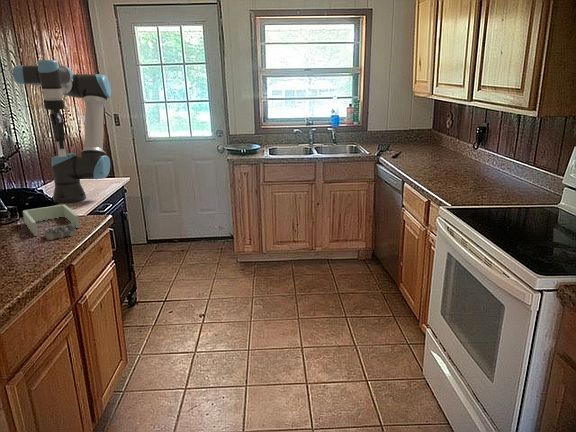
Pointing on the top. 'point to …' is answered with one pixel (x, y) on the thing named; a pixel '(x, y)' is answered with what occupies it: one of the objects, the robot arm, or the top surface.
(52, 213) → the u-shaped frame
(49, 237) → the egg carton
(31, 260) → the top surface
